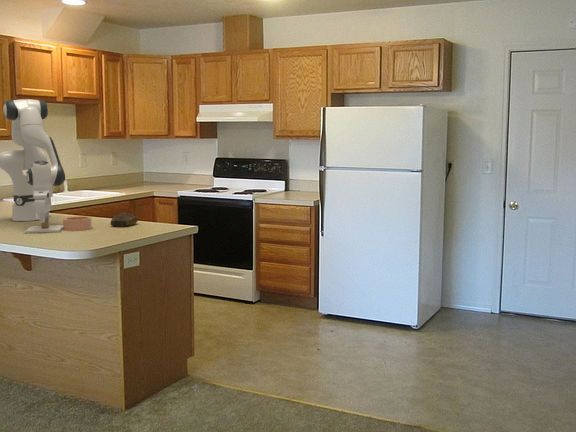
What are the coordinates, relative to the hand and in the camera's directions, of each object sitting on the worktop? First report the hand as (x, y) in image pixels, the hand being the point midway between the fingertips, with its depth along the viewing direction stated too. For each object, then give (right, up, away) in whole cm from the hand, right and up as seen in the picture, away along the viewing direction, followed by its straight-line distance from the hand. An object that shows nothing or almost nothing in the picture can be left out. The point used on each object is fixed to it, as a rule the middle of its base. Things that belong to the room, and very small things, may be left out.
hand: (45, 221), depth 323 cm
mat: (0, -5, +1) cm, 5 cm away
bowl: (+15, -5, +4) cm, 16 cm away
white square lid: (0, -4, +1) cm, 4 cm away
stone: (+35, -3, +18) cm, 40 cm away
